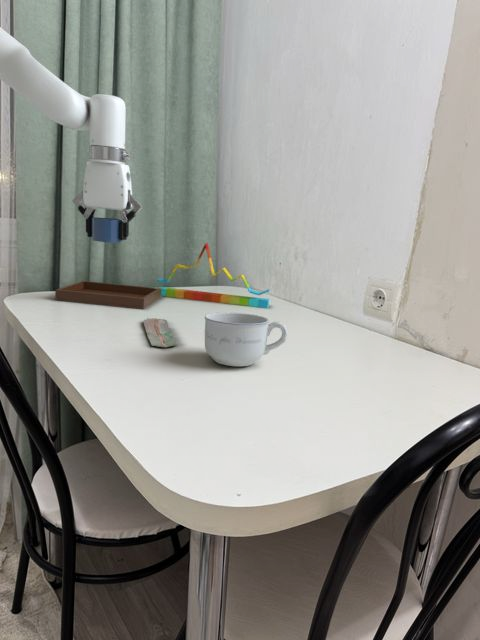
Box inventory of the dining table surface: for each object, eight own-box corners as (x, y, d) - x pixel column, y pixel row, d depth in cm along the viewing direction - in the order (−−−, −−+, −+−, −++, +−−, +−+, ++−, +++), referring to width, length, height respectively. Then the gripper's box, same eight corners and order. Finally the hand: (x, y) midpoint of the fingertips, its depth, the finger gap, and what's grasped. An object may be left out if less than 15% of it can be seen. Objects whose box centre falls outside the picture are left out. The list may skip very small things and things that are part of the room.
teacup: (193, 365, 82) (195, 318, 80) (214, 349, 93) (217, 306, 90) (276, 379, 80) (281, 330, 77) (288, 360, 90) (293, 316, 88)
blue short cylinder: (86, 240, 115) (86, 217, 113) (98, 238, 121) (98, 217, 120) (116, 243, 114) (116, 220, 113) (126, 241, 121) (126, 219, 119)
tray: (55, 300, 120) (55, 289, 120) (82, 289, 135) (82, 280, 134) (143, 309, 119) (143, 298, 119) (161, 297, 134) (161, 288, 133)
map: (151, 351, 89) (151, 346, 89) (142, 318, 108) (142, 314, 107) (180, 351, 91) (180, 346, 90) (166, 319, 109) (166, 315, 109)
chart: (268, 305, 136) (273, 249, 132) (267, 307, 133) (272, 250, 129) (160, 293, 140) (162, 238, 136) (156, 295, 137) (158, 239, 132)
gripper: (150, 161, 116) (148, 240, 121) (77, 155, 117) (78, 233, 122) (140, 158, 108) (138, 242, 113) (61, 151, 109) (63, 235, 114)
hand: (107, 237), depth 117 cm, fingers closed on blue short cylinder, 6 cm apart
